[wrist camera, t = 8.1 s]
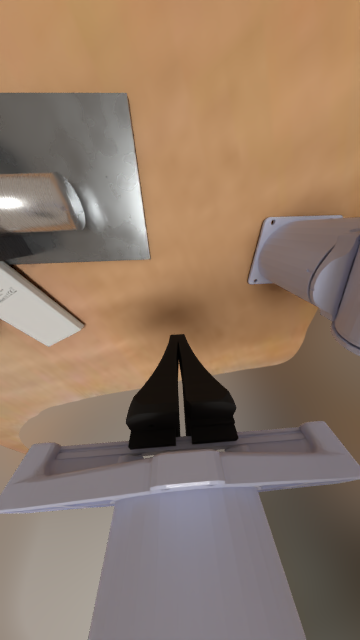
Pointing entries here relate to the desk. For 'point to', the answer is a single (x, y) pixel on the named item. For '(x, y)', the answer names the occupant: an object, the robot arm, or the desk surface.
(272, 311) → the desk surface
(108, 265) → the desk surface
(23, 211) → the tube
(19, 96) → the grey metal fixture
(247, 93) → the desk surface
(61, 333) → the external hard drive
